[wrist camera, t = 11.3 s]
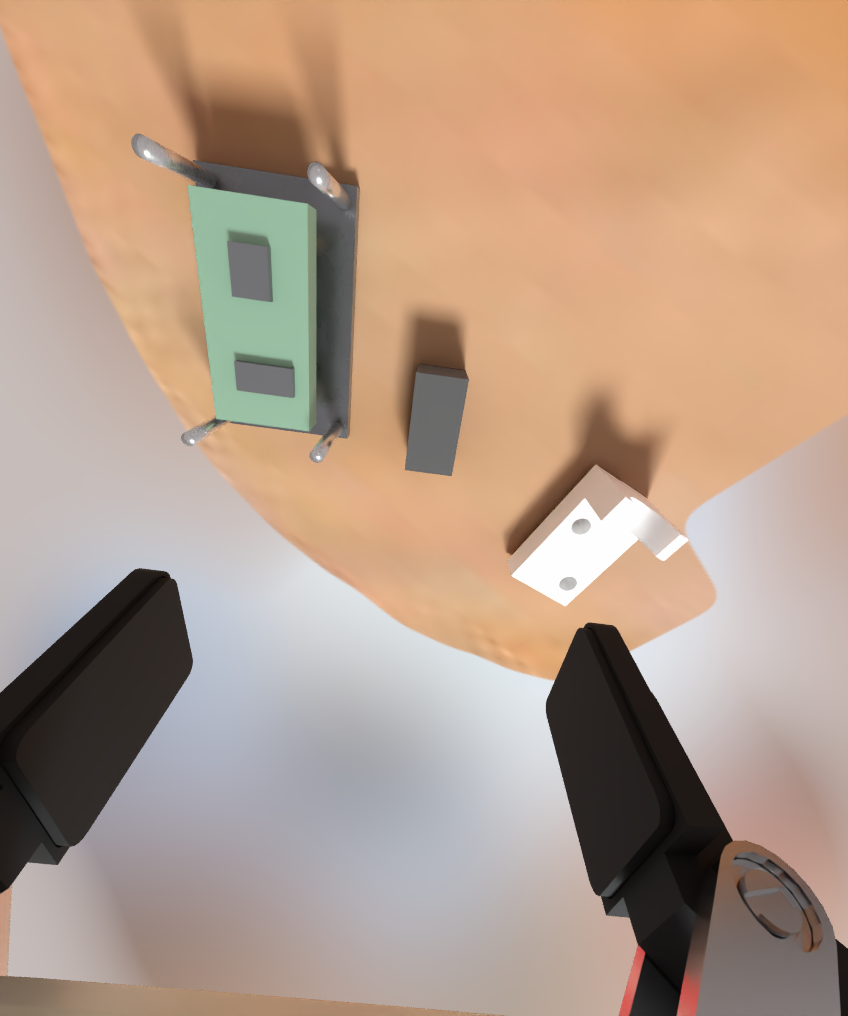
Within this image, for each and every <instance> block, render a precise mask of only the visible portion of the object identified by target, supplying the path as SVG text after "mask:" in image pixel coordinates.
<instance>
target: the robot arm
mask: <svg viewBox="0 0 848 1016" xmlns="http://www.w3.org/2000/svg"><path fill="white" fill-rule="evenodd" d="M192 664H193V659H192V653H191V649H190V644H189V639H188V635H187V629H186V625H185V621H184V615H183V610H182V606H181V601H180V596H179V592H178V587H177V583H176V581H175V580H174V579H171V578H170V575H169V574H168V573H167V572H164V571H157V570H149V569H140V568H139V569H135V570H134V571H133V572H131V573H130V574H129V575H128V576H127V577H126V578H125V579H124V580H122V581H121V582H120V583H119V584H118V585H117V586H116V587H115V588H114V589H113V590H112V591H111V592H109V593H108V594H107V595H106V596H105V597H104V598H103V599H102V600H101V601H100V602H99V603H98V604H96V605H95V606H94V607H93V608H92V609H91V610H90V611H89V612H88V613H87V614H86V615H84V616H83V617H82V618H81V619H80V620H79V621H78V622H77V623H76V624H75V625H74V626H72V627H71V628H70V629H69V630H68V631H67V632H66V633H65V634H64V635H63V636H62V637H60V638H59V639H58V640H57V641H56V642H55V643H54V644H53V645H52V646H51V647H50V648H48V649H47V650H46V651H45V652H44V653H43V654H42V655H41V656H40V657H39V658H38V659H36V660H35V661H34V662H33V663H32V664H31V665H30V666H29V667H28V668H27V669H26V670H25V671H24V672H22V673H21V674H20V675H19V676H18V677H17V678H16V679H15V680H14V681H13V682H12V683H10V684H9V685H8V686H7V687H6V688H5V689H4V690H3V691H2V692H1V693H0V1016H503V1015H492V1014H479V1013H469V1012H456V1011H445V1010H434V1009H423V1008H410V1007H399V1006H386V1005H375V1004H362V1003H350V1002H337V1001H325V1000H314V999H301V998H288V997H276V996H264V995H251V994H239V993H226V992H213V991H202V990H189V989H175V988H162V987H149V986H136V985H123V984H110V983H96V982H82V981H70V980H57V979H44V978H30V977H12V976H7V973H8V953H9V933H10V913H11V892H12V883H13V882H14V880H15V879H16V877H17V876H18V875H19V873H20V872H21V871H22V869H23V868H24V866H25V865H26V864H27V862H30V863H42V864H52V865H58V864H59V862H60V861H61V859H62V858H63V856H64V854H65V853H66V852H67V850H68V849H69V847H70V846H75V845H76V844H78V843H79V842H80V841H81V840H82V839H83V838H84V836H85V835H86V834H87V832H88V831H89V829H90V828H91V826H92V824H93V823H94V821H95V820H96V818H97V817H98V815H99V814H100V812H101V811H102V809H103V807H104V806H105V804H106V803H107V801H108V800H109V798H110V797H111V795H112V794H113V792H114V791H115V789H116V787H117V786H118V784H119V783H120V781H121V779H122V778H123V777H124V775H125V773H126V772H127V770H128V769H129V767H130V766H131V764H132V763H133V761H134V759H135V758H136V756H137V755H138V753H139V752H140V750H141V749H142V747H143V746H144V744H145V743H146V741H147V739H148V738H149V736H150V735H151V733H152V732H153V730H154V728H155V727H156V725H157V724H158V722H159V721H160V719H161V718H162V716H163V715H164V713H165V712H166V710H167V708H168V707H169V705H170V704H171V702H172V701H173V699H174V698H175V696H176V694H177V693H178V691H179V690H180V688H181V687H182V685H183V684H184V682H185V681H186V679H187V677H188V676H189V674H190V672H191V669H192ZM546 714H547V719H548V723H549V726H550V731H551V734H552V738H553V742H554V746H555V750H556V754H557V757H558V761H559V765H560V769H561V773H562V777H563V781H564V785H565V788H566V792H567V796H568V800H569V804H570V808H571V811H572V815H573V819H574V823H575V827H576V831H577V835H578V838H579V842H580V846H581V850H582V854H583V858H584V862H585V865H586V869H587V873H588V877H589V881H590V884H591V886H592V888H593V891H594V892H595V894H596V895H598V896H601V898H602V902H603V905H604V909H605V913H606V915H608V916H619V917H629V918H630V920H631V924H632V927H633V930H634V933H635V936H636V940H637V943H638V946H637V950H636V954H635V957H634V961H633V965H632V968H631V972H630V976H629V979H628V983H627V987H626V990H625V994H624V997H623V1001H622V1005H621V1008H620V1012H619V1016H848V949H847V948H846V947H845V946H844V945H843V944H841V943H840V942H839V941H838V940H837V939H835V935H834V931H833V926H832V925H831V922H830V920H829V918H828V916H827V914H826V912H825V910H824V907H823V906H822V904H821V903H820V902H819V900H818V898H817V897H816V896H815V894H814V893H813V891H812V890H811V888H810V887H809V886H808V885H807V884H806V882H805V881H804V880H803V879H802V878H801V877H800V876H799V875H798V874H797V872H795V870H794V869H792V868H791V867H790V866H789V865H788V864H787V863H785V862H784V861H783V860H782V859H781V858H779V857H778V856H777V855H775V854H774V853H772V852H770V851H769V850H767V849H765V848H764V847H762V846H760V845H757V844H754V843H751V842H748V841H733V840H732V838H731V836H730V834H729V833H728V831H727V829H726V827H725V825H724V823H723V821H722V820H721V818H720V816H719V814H718V812H717V810H716V808H715V807H714V805H713V803H712V801H711V799H710V797H709V795H708V794H707V792H706V790H705V788H704V786H703V784H702V783H701V781H700V779H699V777H698V775H697V773H696V771H695V769H694V768H693V766H692V764H691V762H690V760H689V758H688V756H687V755H686V753H685V751H684V749H683V747H682V745H681V744H680V742H679V740H678V738H677V736H676V734H675V733H674V731H673V729H672V727H671V725H670V723H669V721H668V719H667V718H666V716H665V714H664V712H663V710H662V708H661V706H660V705H659V703H658V701H657V699H656V698H655V696H654V695H653V693H652V692H651V691H650V689H649V687H648V686H647V684H646V682H645V680H644V678H643V676H642V675H641V673H640V671H639V669H638V667H637V665H636V663H635V661H634V660H633V658H632V656H631V654H630V652H629V650H628V648H627V646H626V644H625V643H624V641H623V639H622V637H621V635H620V633H619V631H618V630H617V628H616V627H614V626H613V625H605V624H597V623H587V624H586V625H585V626H584V628H579V629H578V630H577V632H576V634H575V636H574V638H573V641H572V643H571V645H570V648H569V650H568V652H567V654H566V657H565V659H564V661H563V664H562V666H561V668H560V671H559V673H558V675H557V677H556V680H555V682H554V684H553V687H552V689H551V691H550V694H549V696H548V698H547V701H546Z"/></svg>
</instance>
